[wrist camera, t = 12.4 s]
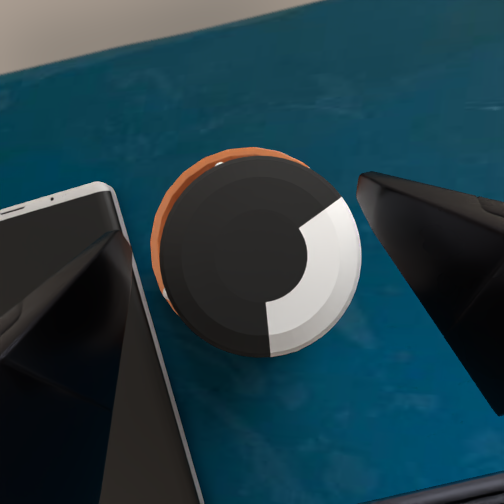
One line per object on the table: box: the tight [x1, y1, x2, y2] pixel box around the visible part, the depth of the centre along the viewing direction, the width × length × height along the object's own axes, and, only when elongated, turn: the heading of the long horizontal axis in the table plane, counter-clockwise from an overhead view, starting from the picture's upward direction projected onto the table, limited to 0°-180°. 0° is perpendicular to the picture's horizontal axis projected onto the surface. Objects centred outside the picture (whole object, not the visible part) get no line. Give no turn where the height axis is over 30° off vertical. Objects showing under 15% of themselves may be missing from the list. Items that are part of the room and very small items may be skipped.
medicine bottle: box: [159, 156, 361, 358], centre depth 13 cm, size 7×7×12 cm
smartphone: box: [0, 182, 205, 504], centre depth 18 cm, size 13×27×2 cm, turn 17°
